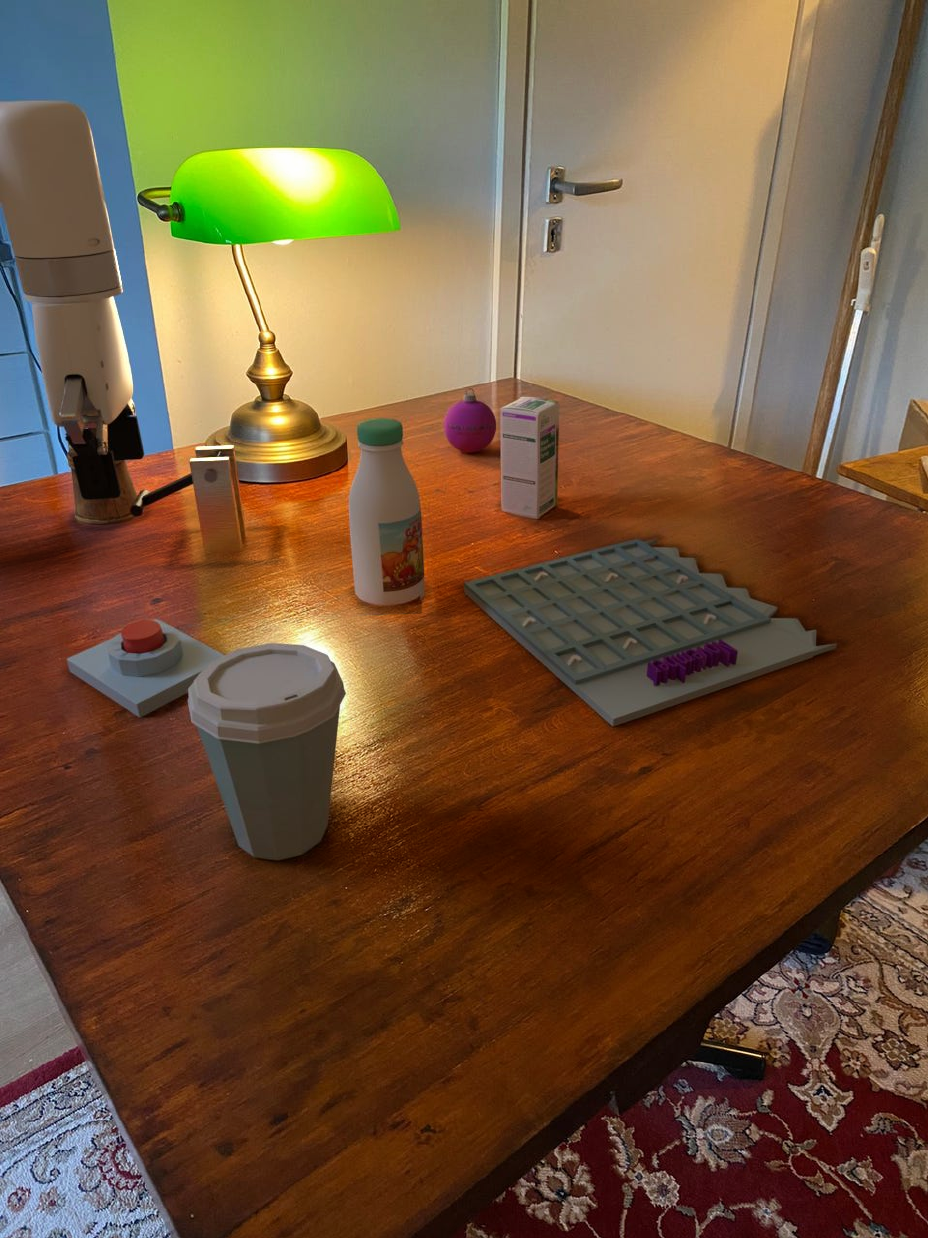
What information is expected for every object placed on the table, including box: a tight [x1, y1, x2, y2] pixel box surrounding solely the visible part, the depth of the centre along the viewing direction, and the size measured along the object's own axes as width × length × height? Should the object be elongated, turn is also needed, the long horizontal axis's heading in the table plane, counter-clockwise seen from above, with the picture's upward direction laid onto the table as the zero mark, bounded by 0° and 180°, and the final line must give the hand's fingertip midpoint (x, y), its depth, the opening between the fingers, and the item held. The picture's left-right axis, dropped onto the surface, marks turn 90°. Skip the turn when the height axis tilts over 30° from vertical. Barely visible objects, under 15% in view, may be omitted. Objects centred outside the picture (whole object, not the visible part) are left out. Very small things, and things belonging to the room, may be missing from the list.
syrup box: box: [499, 395, 560, 520], centre depth 119 cm, size 6×6×14 cm
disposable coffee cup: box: [187, 642, 347, 861], centre depth 65 cm, size 11×11×15 cm
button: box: [120, 619, 164, 654], centre depth 86 cm, size 4×4×2 cm
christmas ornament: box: [443, 387, 497, 454], centre depth 141 cm, size 8×8×10 cm
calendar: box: [463, 537, 838, 727], centre depth 96 cm, size 27×29×2 cm
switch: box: [130, 451, 224, 518], centre depth 107 cm, size 12×5×2 cm, turn 95°
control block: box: [66, 618, 225, 718], centre depth 87 cm, size 12×10×4 cm
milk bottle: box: [348, 417, 425, 606], centre depth 96 cm, size 8×8×20 cm
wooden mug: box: [66, 414, 138, 526], centre depth 119 cm, size 9×14×18 cm, turn 6°
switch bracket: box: [188, 445, 247, 554], centre depth 109 cm, size 12×10×13 cm
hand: (115, 477), depth 82 cm, fingers open, 9 cm apart
